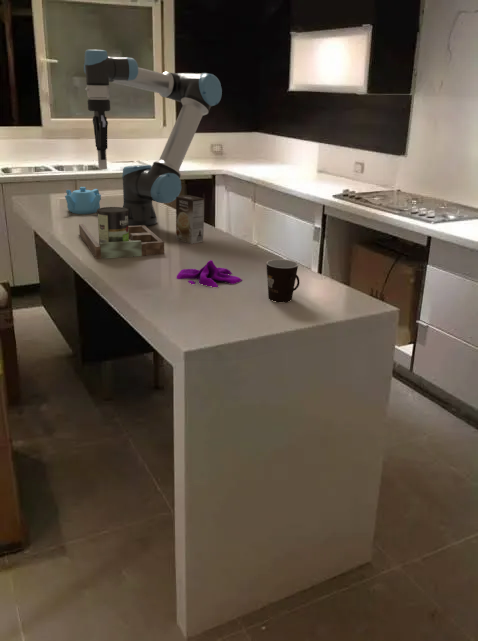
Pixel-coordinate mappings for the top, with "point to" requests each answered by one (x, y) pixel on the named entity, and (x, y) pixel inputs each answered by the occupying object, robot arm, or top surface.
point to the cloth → (208, 275)
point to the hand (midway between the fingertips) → (102, 168)
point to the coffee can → (113, 224)
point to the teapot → (83, 201)
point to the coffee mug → (281, 279)
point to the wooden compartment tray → (125, 244)
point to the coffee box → (189, 219)
